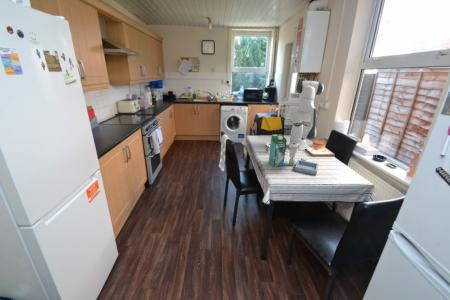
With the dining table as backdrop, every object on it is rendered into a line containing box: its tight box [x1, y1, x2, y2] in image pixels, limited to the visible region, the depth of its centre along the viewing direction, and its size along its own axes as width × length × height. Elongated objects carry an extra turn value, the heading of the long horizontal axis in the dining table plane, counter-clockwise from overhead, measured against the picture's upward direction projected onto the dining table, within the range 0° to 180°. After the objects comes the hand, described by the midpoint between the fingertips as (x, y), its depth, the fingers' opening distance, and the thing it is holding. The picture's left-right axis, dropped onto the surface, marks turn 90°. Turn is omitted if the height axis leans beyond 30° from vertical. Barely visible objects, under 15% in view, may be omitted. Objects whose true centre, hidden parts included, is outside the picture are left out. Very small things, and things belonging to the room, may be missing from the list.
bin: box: [294, 159, 319, 176], centre depth 165 cm, size 16×16×4 cm
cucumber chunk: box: [288, 158, 296, 167], centre depth 172 cm, size 4×4×5 cm
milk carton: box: [268, 133, 288, 168], centre depth 169 cm, size 9×9×25 cm
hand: (292, 159), depth 170 cm, fingers open, 8 cm apart
